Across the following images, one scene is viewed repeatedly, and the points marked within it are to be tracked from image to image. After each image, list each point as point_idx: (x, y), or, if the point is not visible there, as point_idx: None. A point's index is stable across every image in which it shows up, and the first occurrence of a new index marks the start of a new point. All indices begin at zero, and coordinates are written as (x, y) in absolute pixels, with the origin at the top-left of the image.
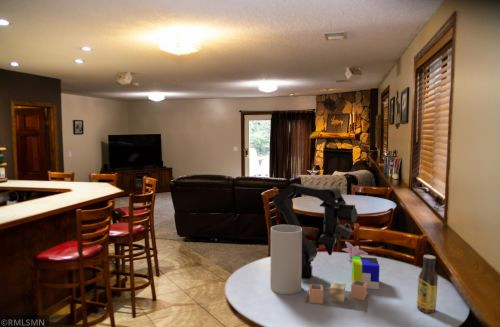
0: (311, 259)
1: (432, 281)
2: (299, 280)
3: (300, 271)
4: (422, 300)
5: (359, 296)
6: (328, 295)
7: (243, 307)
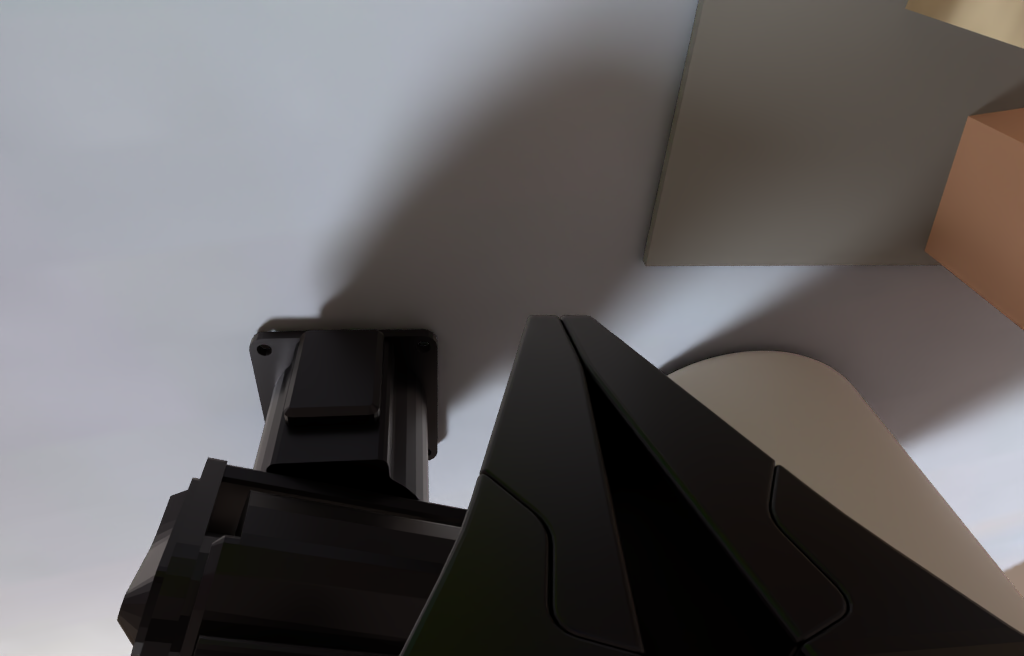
0: (351, 508)
1: None
2: (865, 435)
3: (906, 513)
4: None
5: None
6: (914, 52)
7: (1007, 556)
